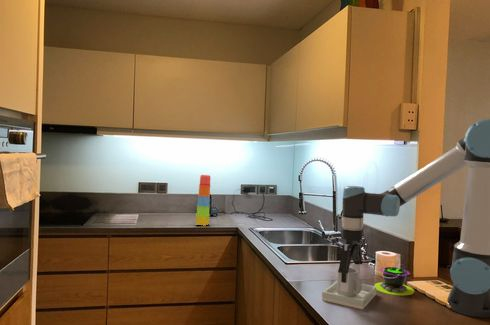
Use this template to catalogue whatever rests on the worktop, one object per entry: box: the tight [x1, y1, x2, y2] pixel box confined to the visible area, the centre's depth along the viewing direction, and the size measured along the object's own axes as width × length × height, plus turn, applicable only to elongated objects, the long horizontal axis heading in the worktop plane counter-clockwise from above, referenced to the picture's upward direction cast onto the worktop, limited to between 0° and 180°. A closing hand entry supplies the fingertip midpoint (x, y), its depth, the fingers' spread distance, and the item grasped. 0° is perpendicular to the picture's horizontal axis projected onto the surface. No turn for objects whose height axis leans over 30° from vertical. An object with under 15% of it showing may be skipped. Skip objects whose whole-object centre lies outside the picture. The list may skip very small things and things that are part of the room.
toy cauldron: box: [373, 259, 415, 296], centre depth 162 cm, size 15×15×11 cm
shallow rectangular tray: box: [321, 280, 377, 310], centre depth 151 cm, size 15×18×3 cm
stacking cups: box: [195, 174, 211, 225], centre depth 281 cm, size 10×10×35 cm
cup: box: [336, 267, 363, 297], centre depth 150 cm, size 7×10×9 cm
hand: (350, 286), depth 151 cm, fingers open, 13 cm apart
